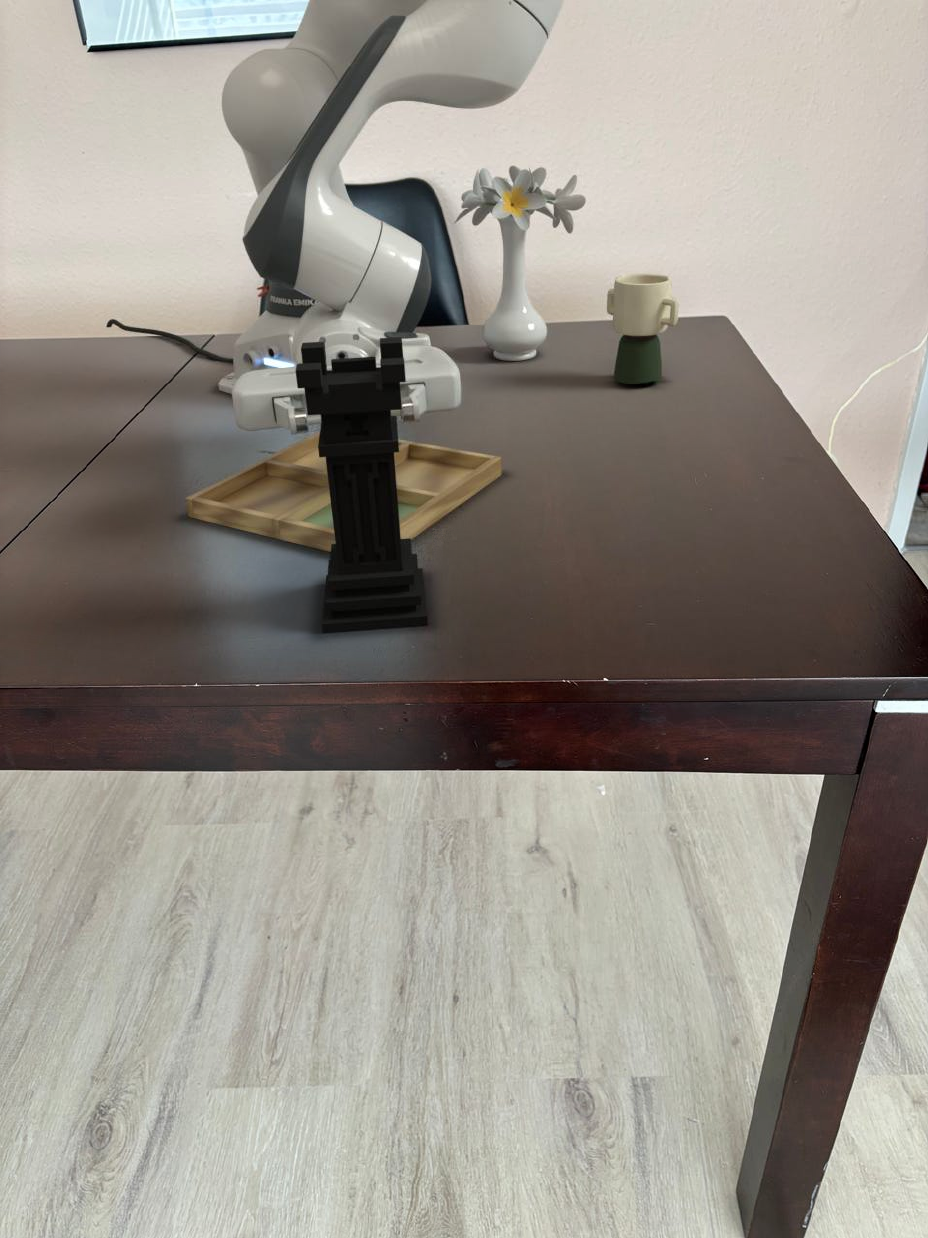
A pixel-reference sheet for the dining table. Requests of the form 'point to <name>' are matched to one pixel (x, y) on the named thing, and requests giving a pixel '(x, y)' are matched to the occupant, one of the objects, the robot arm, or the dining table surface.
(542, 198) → the flower vase
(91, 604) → the dining table surface
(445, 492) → the grid
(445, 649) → the dining table surface
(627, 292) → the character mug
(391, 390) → the chess piece
